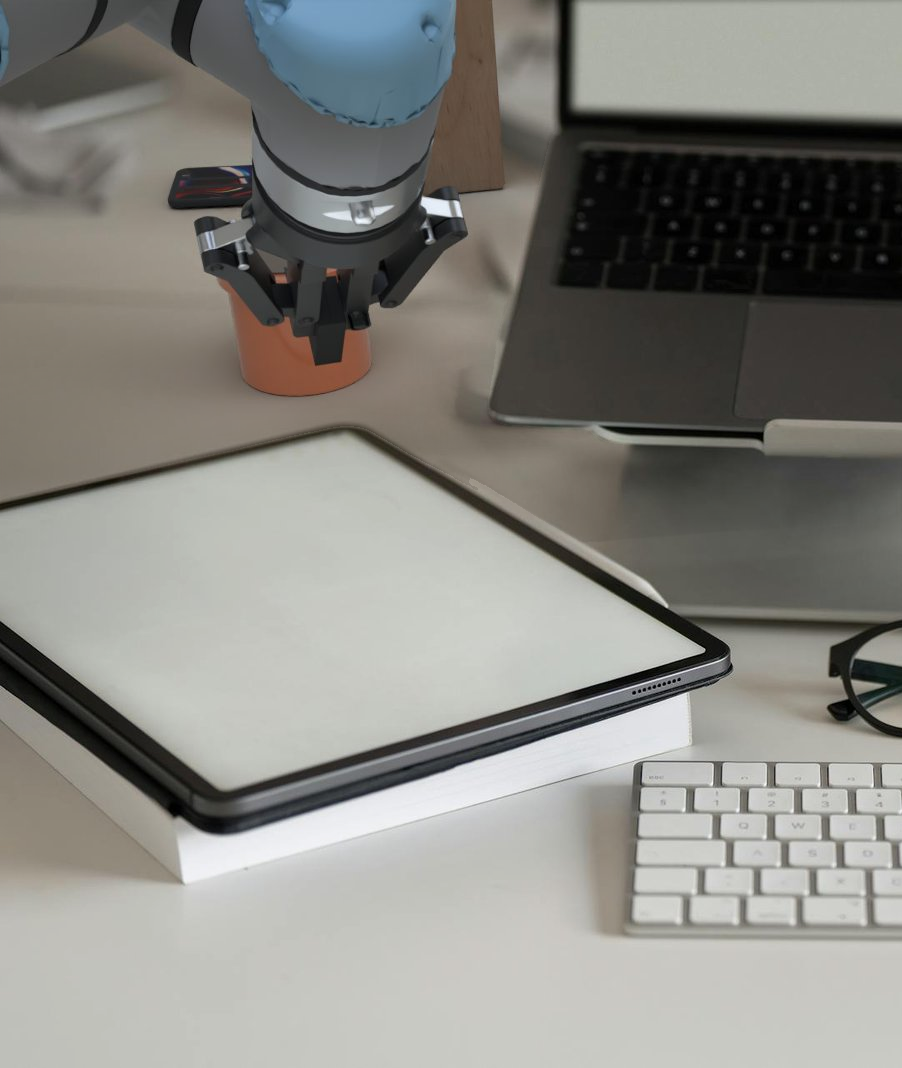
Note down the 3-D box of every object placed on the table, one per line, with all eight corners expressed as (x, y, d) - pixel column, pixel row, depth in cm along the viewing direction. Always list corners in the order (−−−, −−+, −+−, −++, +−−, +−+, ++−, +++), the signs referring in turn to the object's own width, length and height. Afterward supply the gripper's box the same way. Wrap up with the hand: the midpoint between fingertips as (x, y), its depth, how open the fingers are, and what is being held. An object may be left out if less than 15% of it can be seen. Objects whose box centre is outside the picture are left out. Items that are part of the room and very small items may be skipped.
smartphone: (176, 167, 133) (372, 158, 136) (178, 175, 134) (373, 166, 136) (165, 202, 127) (370, 192, 130) (166, 210, 128) (371, 200, 130)
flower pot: (204, 388, 105) (182, 265, 100) (279, 327, 112) (261, 210, 108) (338, 409, 103) (321, 285, 98) (404, 345, 110) (391, 228, 106)
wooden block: (389, 201, 131) (363, -38, 121) (381, 180, 134) (355, -54, 124) (505, 189, 133) (489, -46, 123) (494, 169, 137) (478, -61, 127)
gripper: (204, 259, 72) (218, 422, 94) (504, 220, 77) (450, 385, 99) (170, 98, 74) (191, 297, 96) (466, 69, 78) (422, 265, 100)
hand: (323, 341), depth 97 cm, fingers closed
